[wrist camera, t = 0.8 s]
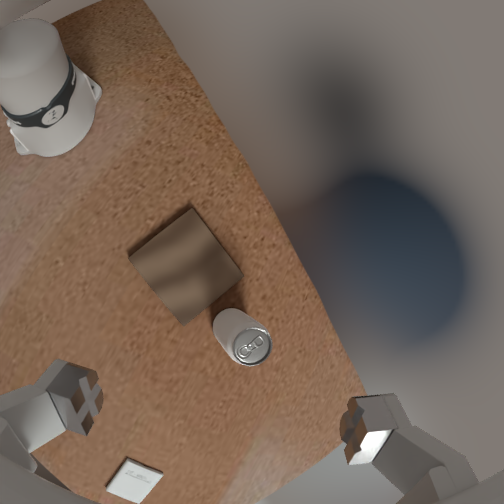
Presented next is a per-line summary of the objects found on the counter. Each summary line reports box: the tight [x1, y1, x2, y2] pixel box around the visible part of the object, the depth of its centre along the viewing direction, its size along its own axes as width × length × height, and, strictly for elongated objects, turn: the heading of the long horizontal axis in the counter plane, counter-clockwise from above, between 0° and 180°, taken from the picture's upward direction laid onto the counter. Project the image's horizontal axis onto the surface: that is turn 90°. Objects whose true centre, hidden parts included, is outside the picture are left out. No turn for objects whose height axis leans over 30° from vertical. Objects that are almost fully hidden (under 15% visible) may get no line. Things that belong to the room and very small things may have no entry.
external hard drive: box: [106, 458, 163, 503], centre depth 42 cm, size 2×8×12 cm
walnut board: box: [128, 208, 244, 326], centre depth 46 cm, size 14×13×1 cm
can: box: [213, 308, 272, 366], centre depth 44 cm, size 6×6×12 cm
